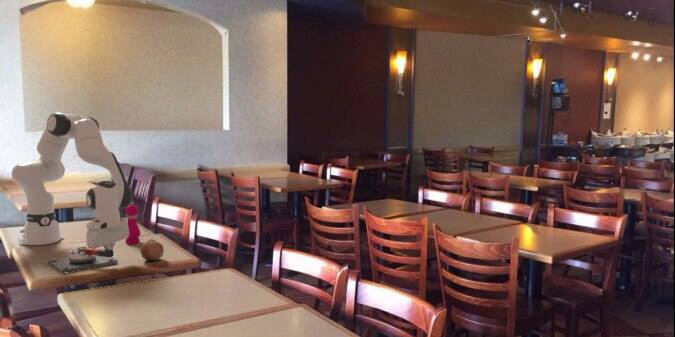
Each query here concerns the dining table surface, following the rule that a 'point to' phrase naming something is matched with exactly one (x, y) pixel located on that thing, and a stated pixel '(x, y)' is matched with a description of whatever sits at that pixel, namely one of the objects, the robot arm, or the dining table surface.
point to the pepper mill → (132, 224)
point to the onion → (152, 250)
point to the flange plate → (67, 266)
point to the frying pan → (87, 254)
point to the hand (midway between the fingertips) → (109, 253)
